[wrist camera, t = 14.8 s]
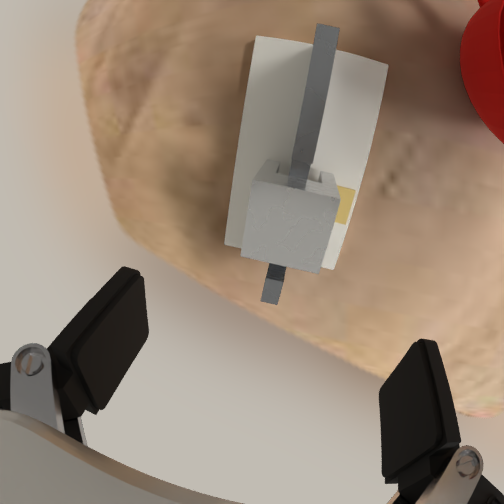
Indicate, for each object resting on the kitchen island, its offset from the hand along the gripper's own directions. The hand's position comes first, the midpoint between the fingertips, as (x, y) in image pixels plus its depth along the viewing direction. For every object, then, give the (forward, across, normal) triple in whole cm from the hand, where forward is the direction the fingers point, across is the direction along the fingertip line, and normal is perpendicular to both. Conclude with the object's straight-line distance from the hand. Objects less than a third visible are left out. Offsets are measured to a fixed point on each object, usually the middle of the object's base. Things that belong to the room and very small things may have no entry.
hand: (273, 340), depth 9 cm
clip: (+15, 0, 0) cm, 15 cm away
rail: (+17, +1, -3) cm, 17 cm away
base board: (+17, +1, -3) cm, 17 cm away
